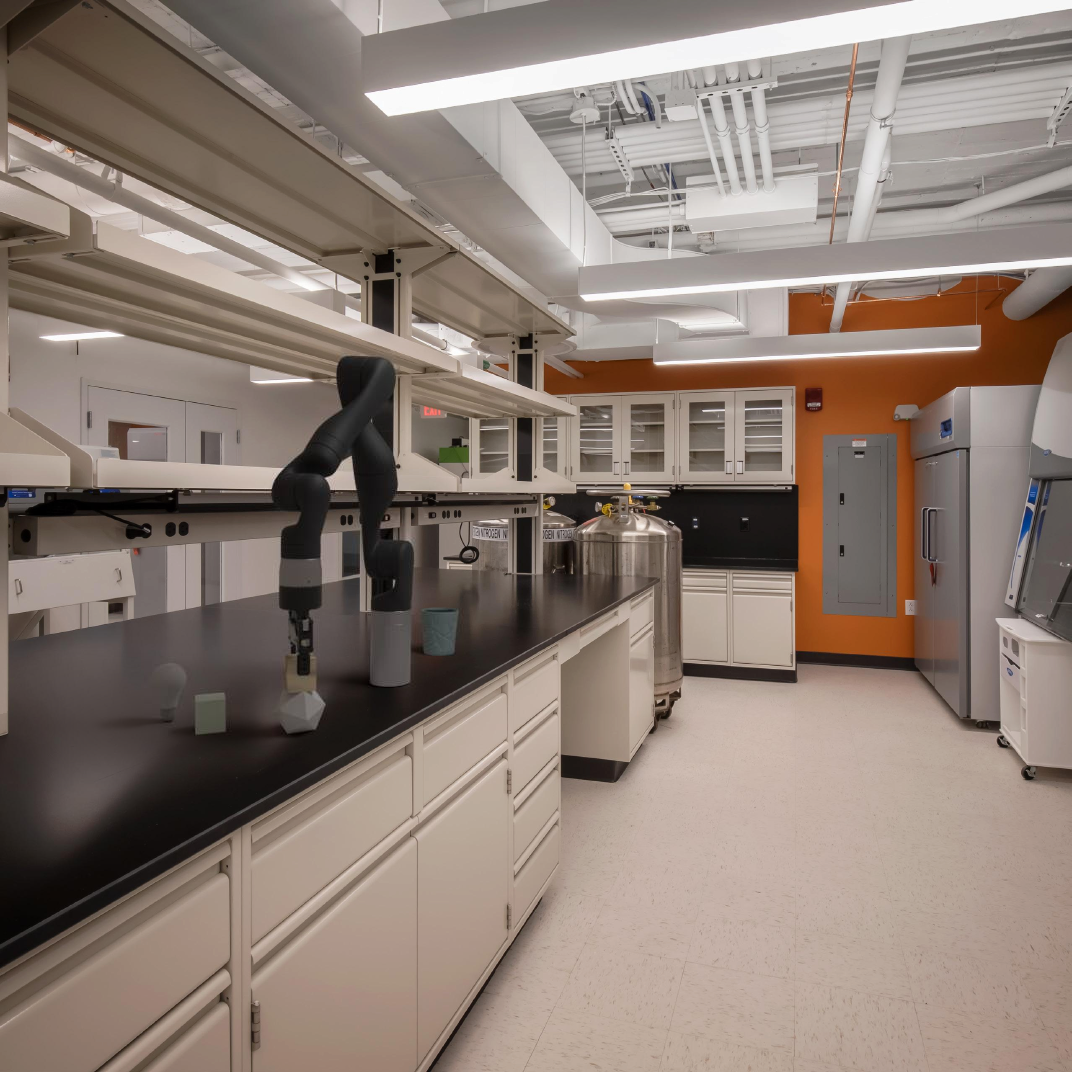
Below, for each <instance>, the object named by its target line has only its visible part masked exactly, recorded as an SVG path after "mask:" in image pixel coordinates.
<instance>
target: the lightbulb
mask: <svg viewBox="0 0 1072 1072" xmlns="http://www.w3.org/2000/svg"><path fill="white" fill-rule="evenodd" d="M149 682H150V686H151V688H152V690H153V692H154V693H155V695H156V696H157V698H158V704H159V705H158V706H159V708H160V716H161V719H162V720H165V721H166V722H171V721H172V720H173V719H174V718H176V717H177V707H178V706H179V698H180V695H181V693H182V691H183V689H184V687H185V686H186V683H187V674H186V671H185V669H184V668H183V667H182V666H180V665H179V664H177V663H174V662H166V663H163V664H160V665H159V666H157V667H156V668H155V669H154V670H153V672H151V676H150V680H149Z"/></svg>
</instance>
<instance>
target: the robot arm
mask: <svg viewBox="0 0 1072 1072" xmlns="http://www.w3.org/2000/svg"><path fill="white" fill-rule="evenodd" d="M335 372H336V374H335V375H336V376H335V377H336V389H337V393H338V396H339V397H338V398H339V401H340V404H341V409H340V410H339V411H337V412H336V413H334V414H332V415H331V416H330V417H328V418H327V419H326V420H324V421H323V422H322V423H321V424H320V425H319V426H318V427H317V428H316V430H315V431H314V433H313V434H312V436H311V437H310V439H309V441H308V442H307V444H306V445H305V447H304V449H303V451H301V453H300V454H298V455H297V456H296V457H295V458H293V459H292V460H291V461H290V462H288V464H287V465H286V466H285V467H284V468H283V469H281V471H280V472H279V473H278V474H277V476H276V477H275V478H274V480H273V483H272V486H271V493H270V495H271V500H272V503H273V504H274V506H275V507H276V508H277V509H279V510H280V511H284V512H289V513H290V512H291V513H292V512H293V513H297V512H298V513H300V515H299V518H298V520H297V522H296V523H295V524H290V525H287V526H285V527H284V528H282V530H281V533H280V560H279V561H280V562H279V567H278V568H279V570H278V607H279V609H280V610H283V611H288V612H287V613H288V618H287V626H288V629H287V633H288V636H287V638H288V640H289V641H288V643H289V645H290V654H297V674H298V675H299V676H305V675H309V674H310V654H311V653H313V654H314V620H313V618H311V616H310V611H313V610H319V609H320V608H321V607H322V605H323V567H322V560H321V556H322V551H321V550H322V549H321V548H322V533H323V530H324V526H325V523H326V520H327V519H326V518H327V516H328V512H329V508H330V505H331V500H332V492H331V486H330V484H329V482H328V480H327V479H326V478H330V477H331V476H333V475H334V474H336V472H337V471H338V469H339V467H340V465H341V463H342V462H343V460H344V458H345V456H346V455H347V453H348V451H349V449H350V453H351V460H352V461H351V464H352V471H353V479H354V486H355V490H356V496H357V501H358V507H359V516H360V522H361V526H360V527H361V540H362V557H363V564H364V565H363V566H364V569H365V572H366V574H367V576H368V577H369V578H370V579H373V580H391V581H394V585H393V587H392V588H391V589H390V590H388V591H385V592H382V593H378V594H375V595H374V596H372V597H371V600H370V649H369V651H370V652H369V653H370V654H369V655H370V656H369V657H370V659H369V675H370V676H369V683H370V684H371V685H372V686H378V687H386V688H387V687H388V688H389V687H400V686H405V685H407V684H409V683H411V661H412V658H411V657H412V656H411V653H412V652H411V651H412V650H411V649H412V648H411V647H412V646H411V645H412V642H411V641H412V601H413V600H412V598H413V585H414V583H413V579H414V569H415V567H414V566H415V551H414V546H413V544H412V543H411V542H410V541H409V540H404V539H403V540H402V539H382V537H381V524H382V521H383V518H384V517H385V515H386V513H387V511H388V509H389V508H390V507H391V504H392V502H393V500H394V498H395V497H396V494H397V492H398V488H399V480H398V479H399V478H398V471H397V462H396V458H395V456H394V453H393V451H392V450H391V448H390V446H389V445H388V444H387V442H386V441H385V440H384V438H383V437H382V435H381V434H380V433H379V432H378V430H377V428H376V427H375V426H374V423H373V422H372V420H373V419H374V417H375V416H376V415H377V414H378V413H379V412H380V410H381V409H382V408H383V407H384V406H385V404H386V403H388V401H389V400H390V398H391V396H392V395H393V394H394V393H393V392H394V391H395V387H396V385H397V383H396V382H397V376H396V375H397V374H396V370H395V367H394V365H393V363H392V362H391V361H390V360H389V359H387V358H385V357H381V356H370V355H368V356H367V355H345V356H342V357H341V358H340V360H339V361H338V363H337V366H336V371H335ZM304 644H306V645H304Z"/></svg>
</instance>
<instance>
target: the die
mask: <svg viewBox="0 0 1072 1072" xmlns="http://www.w3.org/2000/svg"><path fill="white" fill-rule="evenodd" d="M325 708H326V703H325V701H324V700H323V699H322V697H321V696H320V695H319V693H317V690H316V691H307V692H296V693H287V691H286V689H285V687H283V689H282V693H281V694H280V697H279V700H278V702H277V705H276V707H275V709H274V712H273V715H274V717H275V718H276V719H277V721H278V722H279V723H280V725H281V726H282V728H283V729H284V731H285V732H286V734H295V733H301V732H310V731H314V730H315V731H316V729H317V727H318V725H319V722H320V720H321V717H322V715H323V712H324V709H325Z"/></svg>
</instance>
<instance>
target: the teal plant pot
mask: <svg viewBox="0 0 1072 1072" xmlns="http://www.w3.org/2000/svg"><path fill="white" fill-rule="evenodd" d="M421 618H422V619H421V620H422V621H421V622H422V640H423V654H424V655H426V656H427V655H428V656H435V657H436V656H437V657H440V656H441V657H442V656H451V655H453V654H454V653H455V646H456V637H457V626H458V618H459V609H457V608H453V607H451V608H450V607H428V608H427V607H426V608H422V609H421Z"/></svg>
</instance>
